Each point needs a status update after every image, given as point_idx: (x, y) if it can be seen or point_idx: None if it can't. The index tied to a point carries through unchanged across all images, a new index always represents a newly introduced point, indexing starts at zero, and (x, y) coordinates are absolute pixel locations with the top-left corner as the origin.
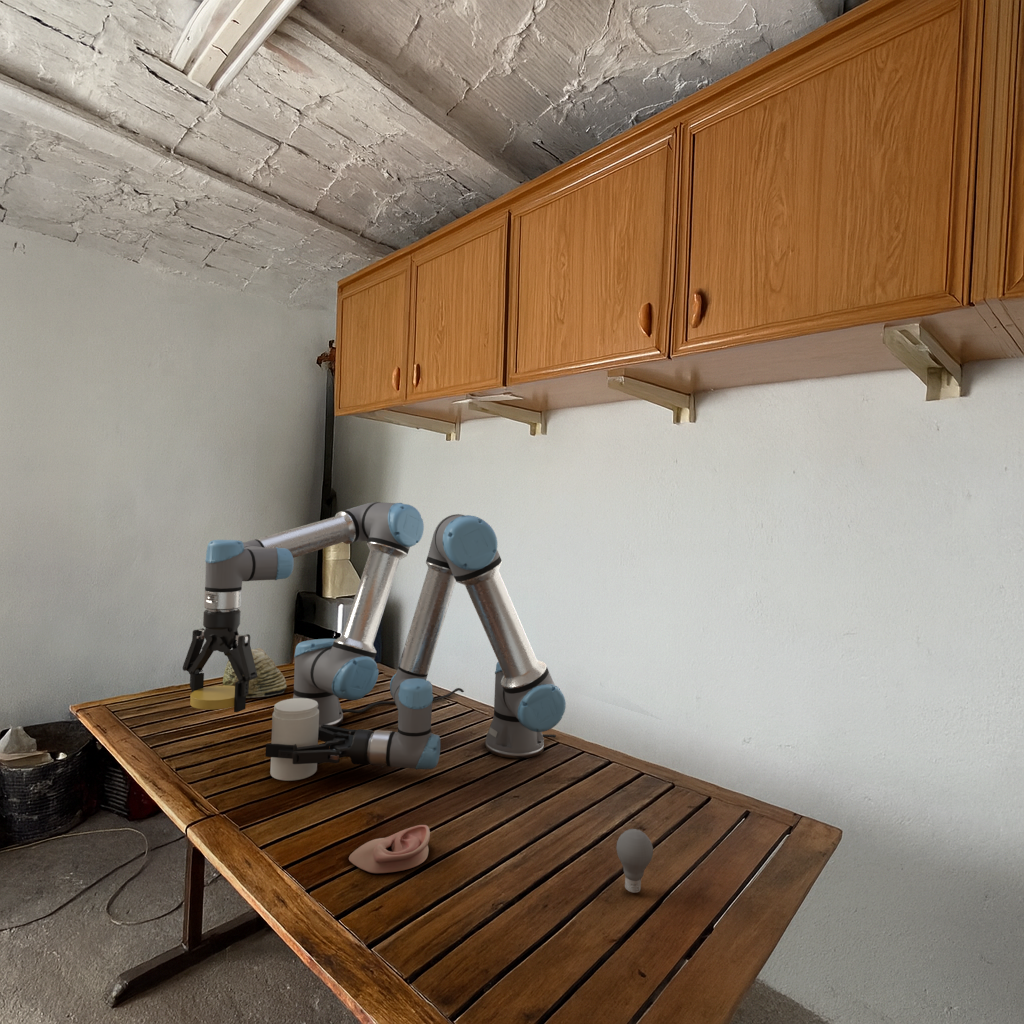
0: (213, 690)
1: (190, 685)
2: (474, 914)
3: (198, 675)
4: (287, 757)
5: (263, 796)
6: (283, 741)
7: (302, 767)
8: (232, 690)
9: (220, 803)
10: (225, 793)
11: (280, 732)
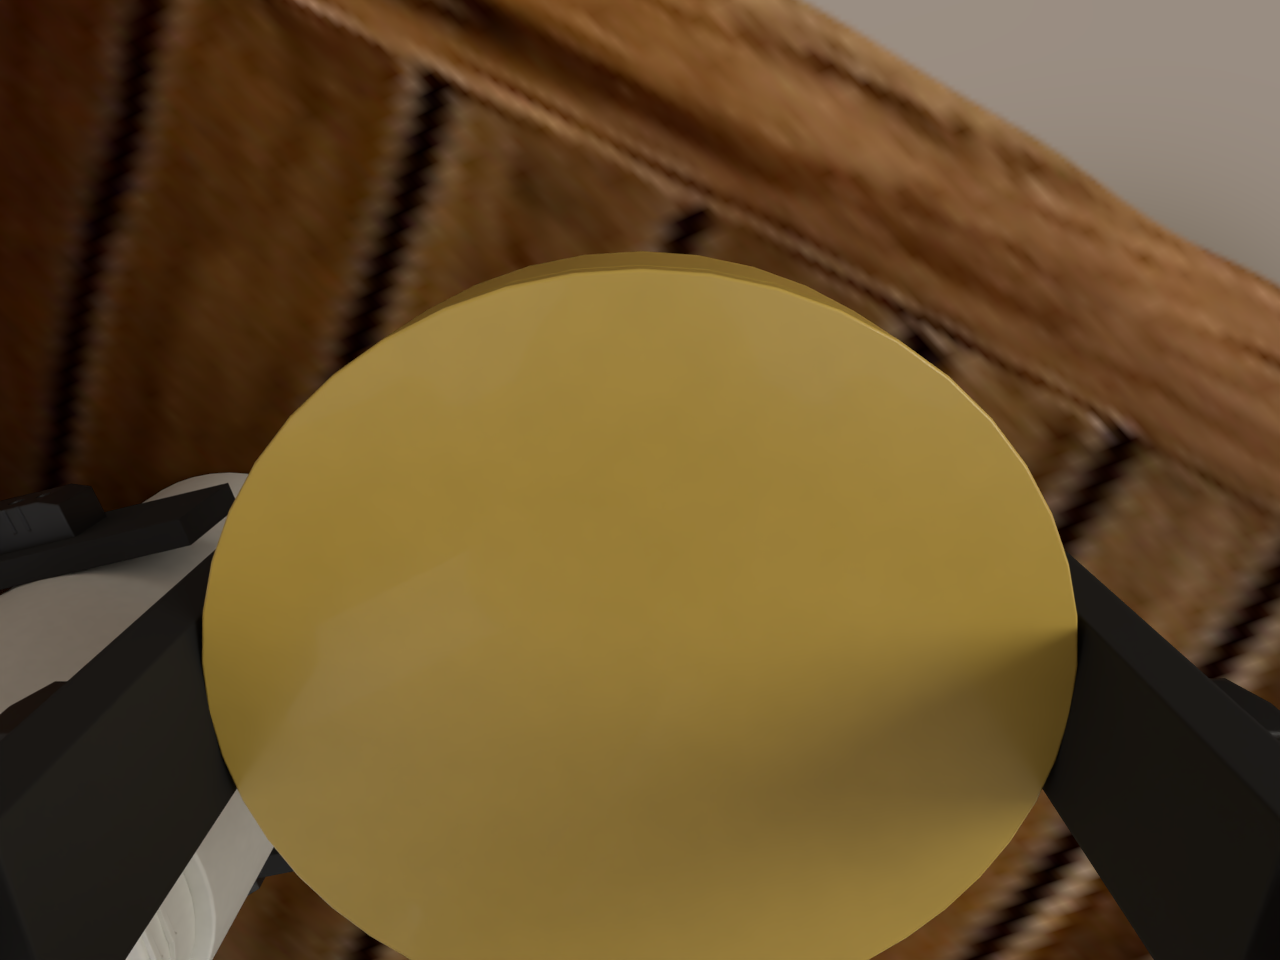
0: (790, 755)
1: (1256, 706)
2: None
3: (1244, 908)
4: (15, 497)
5: (130, 250)
6: (44, 587)
7: None
8: (525, 864)
9: (284, 51)
10: (372, 187)
11: (25, 624)
